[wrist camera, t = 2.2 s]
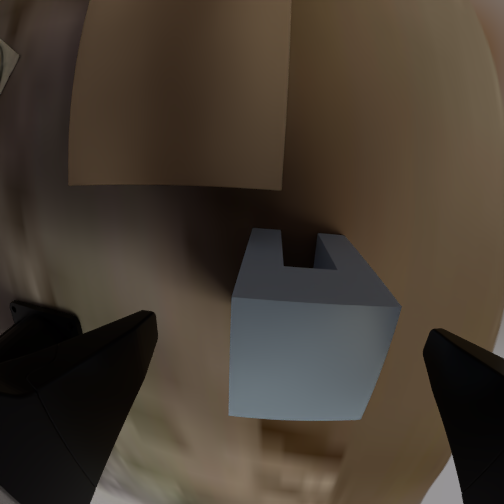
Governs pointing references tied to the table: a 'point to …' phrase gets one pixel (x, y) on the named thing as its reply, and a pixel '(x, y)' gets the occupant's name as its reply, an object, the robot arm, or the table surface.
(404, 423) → the table surface
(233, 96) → the brown slotted block
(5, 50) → the condiment
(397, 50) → the table surface
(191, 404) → the table surface
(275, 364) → the clip
